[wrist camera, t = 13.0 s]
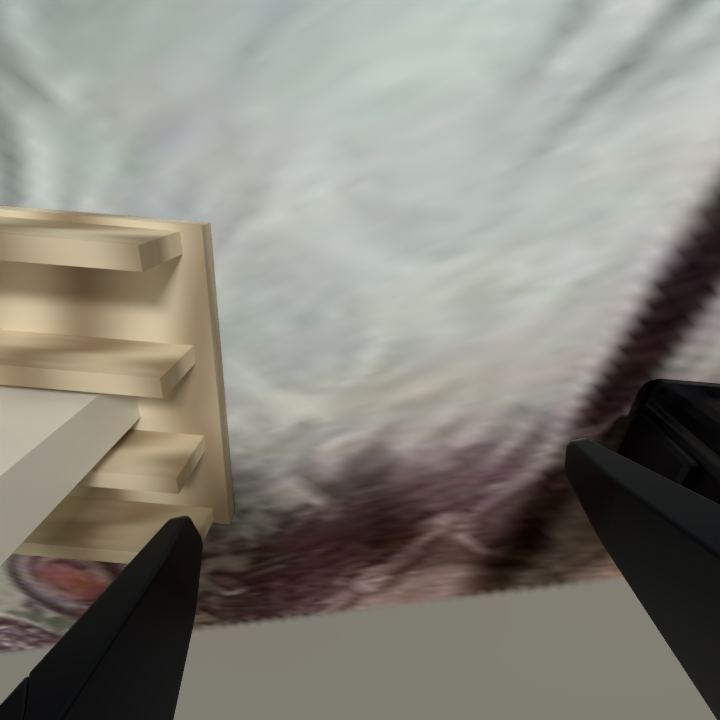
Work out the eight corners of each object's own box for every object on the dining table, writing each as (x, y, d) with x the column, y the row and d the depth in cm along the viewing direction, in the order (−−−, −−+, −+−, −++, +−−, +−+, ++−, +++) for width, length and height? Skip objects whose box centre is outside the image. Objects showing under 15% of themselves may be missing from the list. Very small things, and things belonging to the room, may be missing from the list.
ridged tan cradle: (210, 223, 19) (163, 238, 15) (234, 512, 27) (209, 573, 23) (-89, 198, 19) (-217, 207, 15) (25, 494, 27) (-38, 552, 23)
